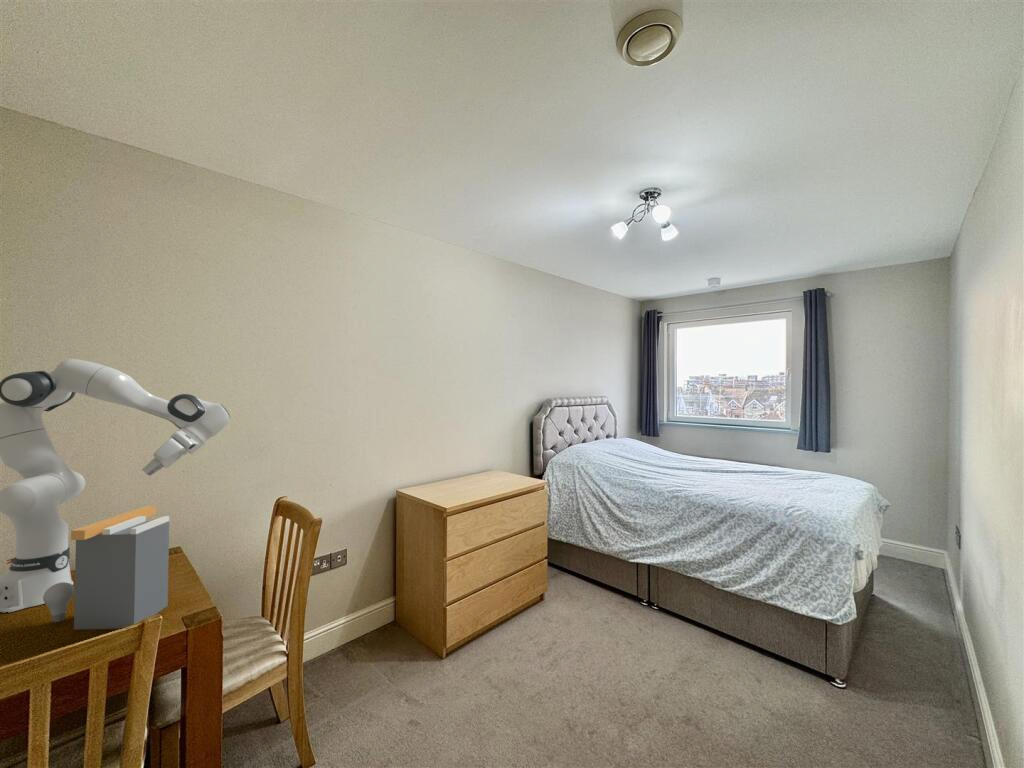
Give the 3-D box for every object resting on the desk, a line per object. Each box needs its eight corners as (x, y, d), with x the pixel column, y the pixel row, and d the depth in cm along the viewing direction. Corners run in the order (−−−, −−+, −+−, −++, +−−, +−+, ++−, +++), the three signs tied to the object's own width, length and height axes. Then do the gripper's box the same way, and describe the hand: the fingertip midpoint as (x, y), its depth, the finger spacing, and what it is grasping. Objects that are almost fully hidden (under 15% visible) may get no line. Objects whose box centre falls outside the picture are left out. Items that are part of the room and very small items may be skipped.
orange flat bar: (70, 539, 112) (71, 530, 112) (145, 513, 136) (145, 506, 136) (84, 539, 112) (84, 530, 112) (156, 513, 136) (156, 505, 136)
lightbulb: (39, 630, 115) (40, 590, 115) (46, 620, 120) (47, 582, 120) (70, 623, 118) (71, 584, 118) (76, 614, 123) (77, 576, 123)
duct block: (73, 629, 115) (76, 529, 116) (113, 607, 127) (115, 516, 128) (133, 628, 116) (136, 528, 116) (167, 606, 128) (169, 516, 128)
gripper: (179, 440, 152) (141, 470, 144) (175, 430, 136) (133, 463, 128) (193, 452, 153) (157, 482, 145) (192, 443, 138) (151, 476, 130)
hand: (145, 473), depth 137 cm, fingers open, 8 cm apart
